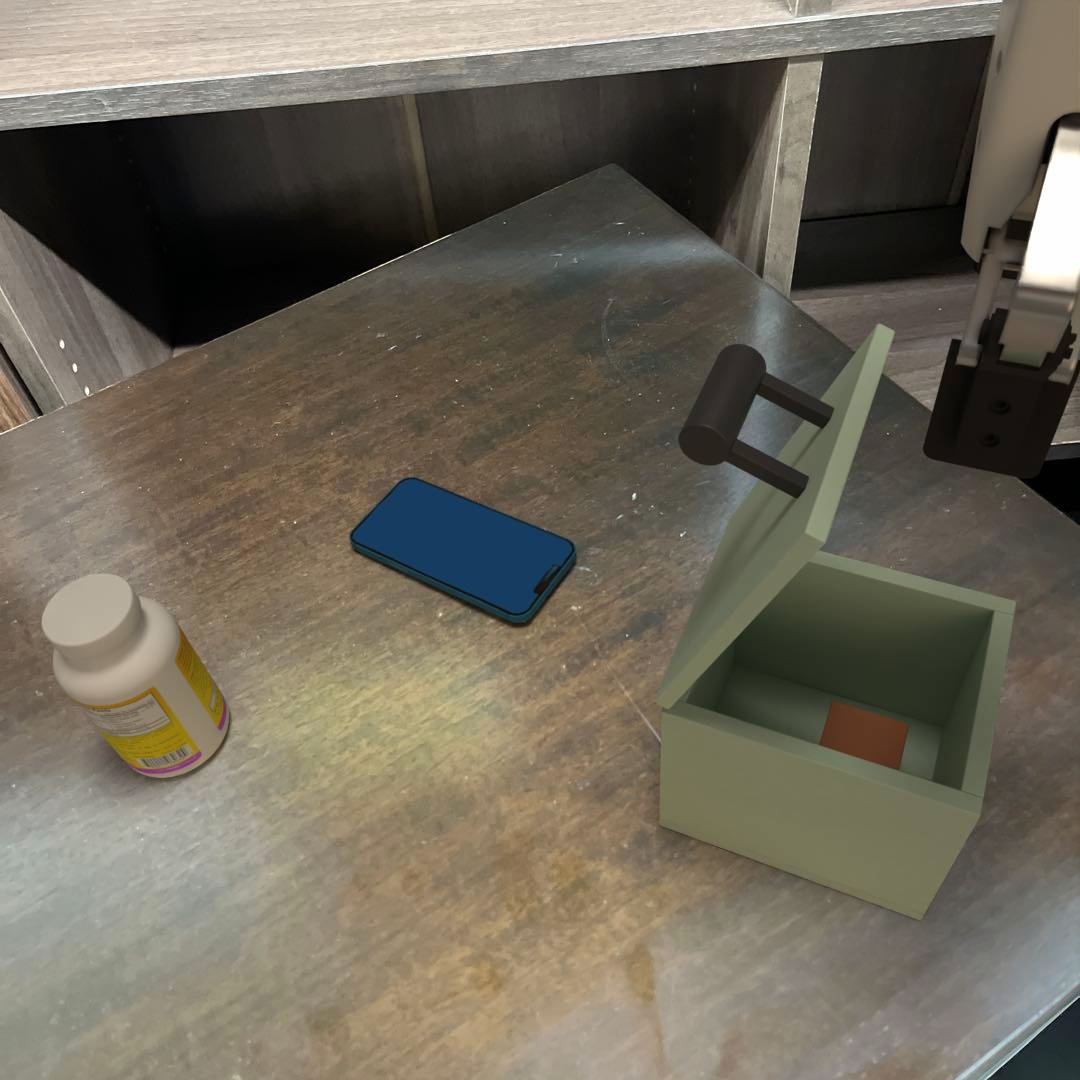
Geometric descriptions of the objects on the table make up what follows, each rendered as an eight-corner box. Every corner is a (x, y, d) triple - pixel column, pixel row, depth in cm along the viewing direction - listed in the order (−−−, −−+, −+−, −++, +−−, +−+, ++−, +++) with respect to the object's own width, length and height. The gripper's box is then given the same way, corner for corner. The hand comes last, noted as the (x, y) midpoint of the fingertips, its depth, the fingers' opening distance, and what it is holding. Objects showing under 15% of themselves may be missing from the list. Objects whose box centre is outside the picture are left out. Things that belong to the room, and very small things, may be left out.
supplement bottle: (179, 670, 63) (94, 540, 54) (254, 714, 61) (179, 585, 51) (100, 752, 60) (-6, 628, 50) (176, 802, 57) (80, 681, 48)
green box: (958, 727, 56) (1016, 600, 47) (920, 921, 49) (980, 816, 41) (722, 656, 61) (735, 528, 52) (658, 825, 54) (660, 711, 45)
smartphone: (406, 472, 72) (582, 543, 66) (409, 481, 73) (583, 553, 67) (342, 539, 69) (522, 622, 62) (345, 548, 69) (523, 631, 63)
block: (895, 761, 54) (909, 723, 51) (880, 825, 52) (894, 789, 49) (822, 737, 56) (832, 699, 53) (804, 799, 53) (813, 763, 50)
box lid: (896, 330, 39) (767, 263, 40) (826, 543, 33) (670, 460, 33) (742, 526, 51) (644, 473, 52) (668, 710, 45) (555, 649, 45)
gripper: (1553, -224, 13) (1110, 592, 26) (1413, -428, 23) (1144, 233, 36) (945, -218, 15) (819, 522, 28) (1058, -404, 25) (927, 206, 38)
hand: (1001, 361), depth 32 cm, fingers open, 9 cm apart
